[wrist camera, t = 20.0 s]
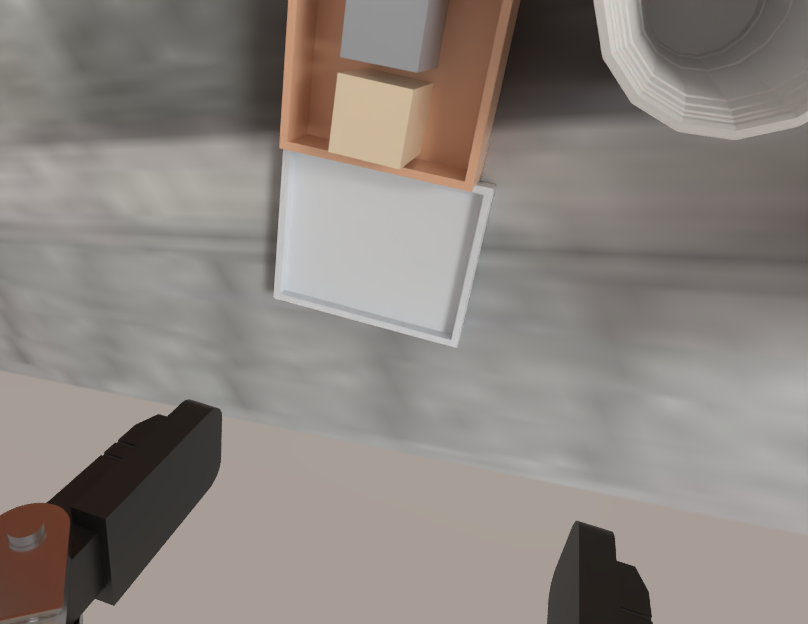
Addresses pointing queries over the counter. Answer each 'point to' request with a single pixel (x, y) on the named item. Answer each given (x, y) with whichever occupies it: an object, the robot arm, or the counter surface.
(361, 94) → the beige wooden cube
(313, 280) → the tray
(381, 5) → the grey stacked cube
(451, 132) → the dish
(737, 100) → the plastic cup
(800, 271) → the counter surface
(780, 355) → the counter surface
